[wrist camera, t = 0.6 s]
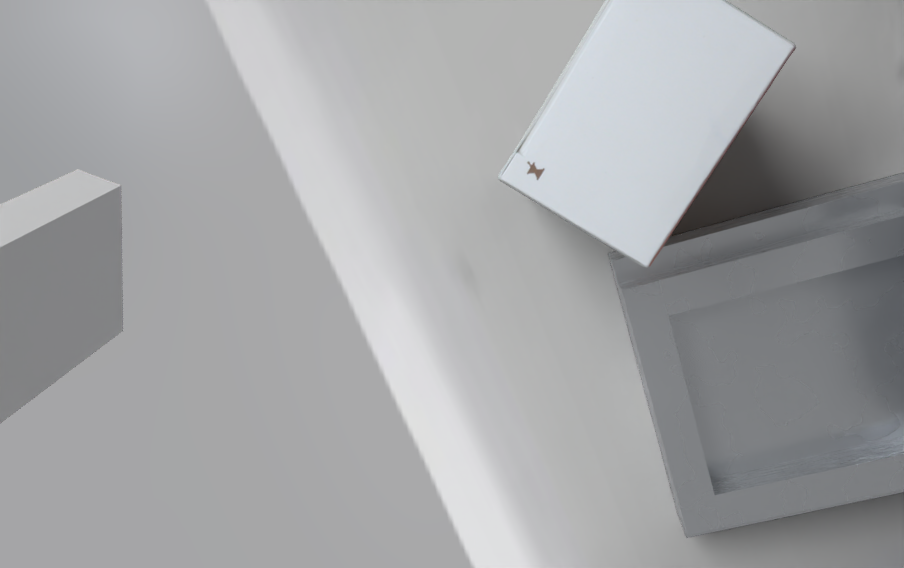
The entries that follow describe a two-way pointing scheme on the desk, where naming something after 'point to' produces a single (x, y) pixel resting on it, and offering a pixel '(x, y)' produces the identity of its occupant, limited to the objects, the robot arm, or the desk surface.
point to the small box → (644, 117)
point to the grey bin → (776, 357)
